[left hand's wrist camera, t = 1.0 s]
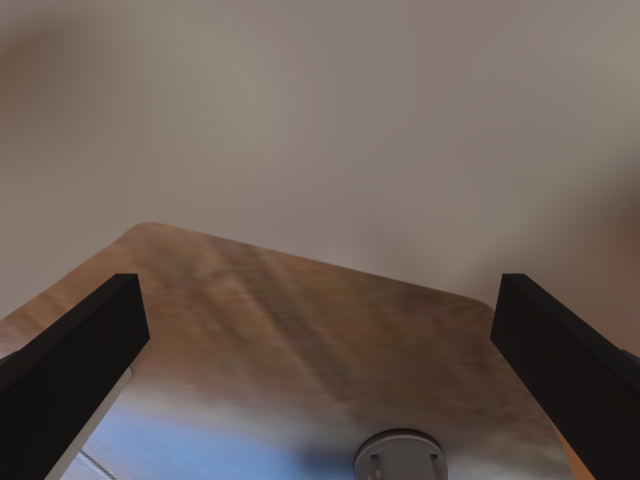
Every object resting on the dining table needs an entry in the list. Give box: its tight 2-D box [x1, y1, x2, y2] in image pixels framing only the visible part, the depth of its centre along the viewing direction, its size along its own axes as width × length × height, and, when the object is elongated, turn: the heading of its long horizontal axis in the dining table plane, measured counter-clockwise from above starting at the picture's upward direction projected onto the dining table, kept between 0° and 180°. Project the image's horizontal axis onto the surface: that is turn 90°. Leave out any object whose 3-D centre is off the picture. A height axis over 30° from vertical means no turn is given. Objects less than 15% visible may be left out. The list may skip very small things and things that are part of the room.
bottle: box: [44, 367, 132, 480], centre depth 42 cm, size 5×5×23 cm
